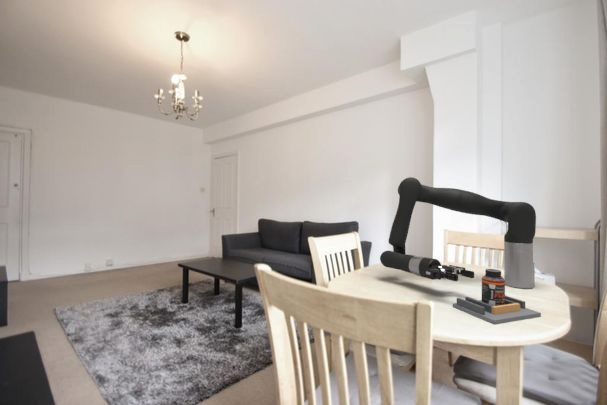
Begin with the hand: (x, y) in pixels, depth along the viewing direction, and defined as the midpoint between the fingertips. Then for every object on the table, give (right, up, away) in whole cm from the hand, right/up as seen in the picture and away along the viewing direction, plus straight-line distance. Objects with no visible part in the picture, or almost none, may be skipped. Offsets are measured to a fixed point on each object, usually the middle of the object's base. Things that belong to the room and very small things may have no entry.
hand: (465, 276), depth 96 cm
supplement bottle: (+4, -8, -7) cm, 11 cm away
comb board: (+4, -8, -8) cm, 12 cm away
